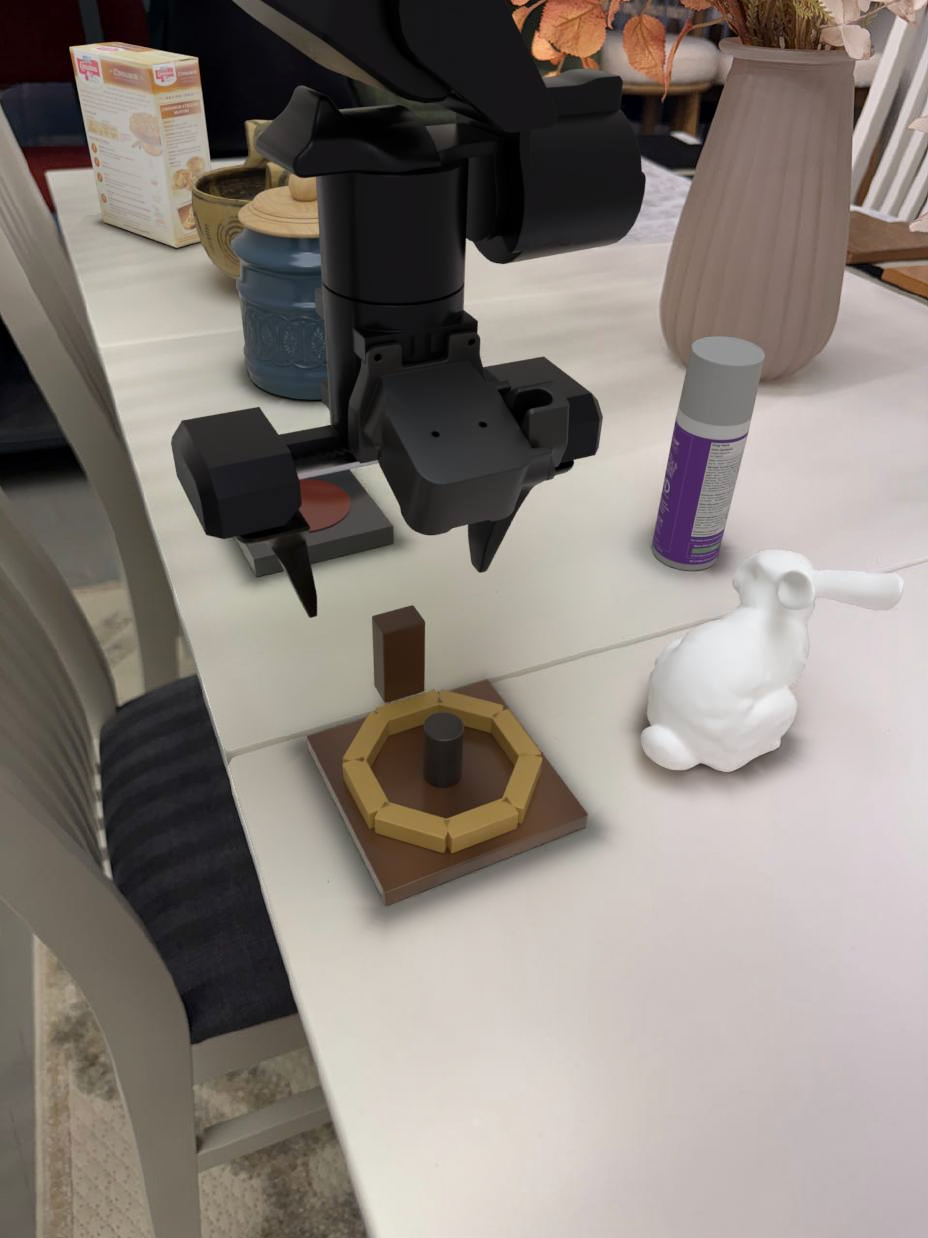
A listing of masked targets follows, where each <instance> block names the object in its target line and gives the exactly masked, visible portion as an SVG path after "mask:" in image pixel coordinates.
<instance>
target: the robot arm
mask: <svg viewBox="0 0 928 1238" xmlns="http://www.w3.org/2000/svg"><path fill="white" fill-rule="evenodd" d="M232 2H234V3H235V4H236V5H237V6H238V7H240V8H241V9H242V10H243V11H244V12H245V13H247V14H248V15H249V16H250V17H252V18H253V19H254V20H256V21H258V22H259V23H260V24H262V25H263V26H265V27H266V28H267V29H269V30H270V31H272V32H273V33H275V34H276V35H277V36H278V37H281V39H283V40H284V41H286V43H289V44H290V45H291V46H293V47H294V48H295V49H297V50H298V51H300V52H301V53H302V54H304V55H305V56H307V57H308V58H310V59H311V60H313V61H314V62H315V63H317V64H318V65H320V66H322V67H324V68H326V69H328V70H329V71H332V72H334V73H337V74H340V75H342V76H345V77H348V78H350V79H353V80H356V81H358V82H361V83H364V84H366V85H369V86H371V87H373V88H376V89H379V90H381V91H383V92H386V93H389V94H391V95H394V96H395V97H396V96H397V97H399V98H401V99H404V100H407V101H411V102H416V103H421V104H432V105H435V106H437V107H440V108H442V109H446V110H448V111H451V112H453V113H455V121H454V122H455V123H446V124H436V125H425V124H424V122H423V120H422V119H421V118H420V117H419V116H418V115H417V114H416V112H415V111H413V110H411V109H410V108H408V107H407V106H404V105H401V104H386V105H385V104H384V105H375V106H374V105H373V106H363V107H352V108H342V109H339V108H338V107H337V106H336V104H335V103H334V102H333V100H332V99H331V98H330V96H328V95H325V94H323V93H321V92H319V91H317V90H314V89H312V88H310V87H307V86H306V85H298V86H297V87H295V89H294V90H293V94H292V96H291V98H290V100H289V102H288V104H287V105H286V107H285V109H284V110H283V111H282V112H281V113H280V114H279V115H278V116H277V117H275V119H272V120H273V121H272V122H271V123H270V125H269V126H268V127H267V128H266V129H265V130H264V131H263V132H262V133H261V134H260V135H259V137H258V138H257V141H256V149H257V151H258V153H259V154H260V155H261V156H263V157H265V158H266V159H268V160H270V161H272V162H273V163H275V164H277V165H278V166H280V167H282V168H284V169H285V170H287V171H289V172H290V173H292V174H294V175H295V176H297V177H299V178H311V177H316V189H317V206H318V223H319V240H320V256H321V273H322V287H321V288H314V289H315V305H316V312H317V313H318V314H319V315H320V317H321V318H322V319H323V320H324V324H325V341H326V358H327V374H328V379H323V380H320V382H321V397H322V399H321V402H322V403H323V404H324V405H325V406H326V408H327V409H328V411H329V422H330V423H329V424H327V425H323V426H317V427H311V428H306V429H301V430H297V431H296V430H295V431H289V432H286V433H278V432H277V430H276V428H275V427H274V426H273V424H272V423H271V421H270V420H269V419H268V417H267V416H266V414H265V413H264V411H263V410H262V409H261V407H260V406H255V407H249V408H244V409H239V410H233V411H228V412H227V411H226V412H221V413H216V414H211V415H206V416H200V417H194V418H188V419H182V420H181V421H180V422H179V425H178V426H177V428H176V430H175V431H174V433H173V434H172V436H171V440H170V444H171V451H172V456H173V457H172V458H173V463H174V468H175V473H176V477H177V479H178V481H179V484H180V485H181V488H182V489H183V492H184V494H185V495H186V497H187V499H188V501H189V504H190V506H191V508H192V509H193V511H194V513H195V516H196V517H197V519H198V521H199V524H200V526H201V527H202V530H203V532H204V534H205V535H206V536H209V537H213V538H217V539H221V540H226V539H231V538H235V536H236V538H237V539H238V540H239V541H240V542H241V543H244V544H247V545H255V544H260V543H266V544H267V545H268V546H269V547H270V548H271V550H272V551H273V552H274V554H275V555H276V556H277V558H278V560H279V562H280V564H281V565H282V567H283V569H284V570H283V571H284V573H285V575H286V577H287V579H288V581H289V582H290V585H291V586H292V587H291V588H292V589H293V590H294V592H295V594H296V597H297V598H298V601H299V602H300V604H301V606H302V608H303V610H304V611H305V613H306V616H307V617H308V618H309V619H313V618H316V617H318V592H317V588H316V581H315V578H314V572H313V567H312V563H311V562H310V557H309V552H308V547H307V542H306V537H307V535H308V533H309V531H310V526H309V524H308V522H307V521H306V519H305V518H304V516H303V515H302V513H301V512H300V510H299V508H300V507H301V506H302V500H301V489H300V481H299V480H301V479H306V478H310V477H315V476H320V475H325V474H330V473H334V472H339V471H344V470H349V469H350V470H354V469H359V468H362V467H368V466H372V465H377V464H378V465H379V468H380V469H381V471H382V474H383V476H384V478H385V480H386V482H387V483H388V485H389V487H390V489H391V492H392V494H393V496H394V497H395V500H396V502H397V504H398V506H399V511H400V514H401V516H402V519H403V520H404V522H405V524H406V525H407V526H408V527H409V528H410V529H411V530H412V531H414V532H415V533H418V534H420V535H422V536H423V535H424V536H431V537H432V536H439V535H443V534H447V533H448V532H450V531H452V530H453V529H456V528H459V527H460V528H461V527H464V526H467V540H468V549H469V557H470V563H471V565H472V566H473V568H474V569H475V570H476V571H477V572H478V573H479V574H482V573H486V572H487V571H488V570H489V568H490V565H491V564H492V562H493V560H494V558H495V556H496V554H497V552H498V550H499V548H500V546H501V544H502V542H503V541H504V538H505V536H506V534H507V533H508V531H509V529H510V527H511V525H512V522H513V521H514V519H515V517H516V515H517V513H518V511H519V510H520V508H521V506H522V505H523V503H524V502H525V500H526V499H527V497H528V496H529V494H530V492H531V491H532V490H533V489H534V487H536V486H538V485H539V484H542V483H543V482H546V481H552V480H553V479H554V478H555V477H556V476H558V475H562V474H563V475H564V474H566V473H568V472H569V471H571V470H572V469H573V467H574V466H575V460H579V459H580V460H581V459H585V458H590V457H594V456H596V454H597V453H598V450H599V448H600V443H601V434H602V429H603V419H604V416H603V412H602V409H601V405H600V403H599V400H598V399H597V398H596V396H595V395H594V394H593V393H592V391H590V390H588V389H587V388H586V387H585V386H583V385H582V384H581V383H579V382H578V381H577V380H576V379H574V378H573V377H572V376H571V375H569V374H567V372H565V371H564V370H562V368H560V367H559V366H558V365H556V364H555V363H553V362H552V361H551V360H550V359H548V358H547V357H546V356H538V357H533V358H527V359H521V360H520V359H519V360H516V361H515V360H514V361H510V362H505V363H497V364H492V365H487V366H484V365H483V362H482V357H481V336H480V335H479V333H478V331H479V321H478V320H477V319H476V318H475V317H474V316H472V315H471V314H470V313H468V312H467V311H466V310H465V285H466V282H465V280H466V258H467V257H466V256H467V255H466V254H467V240H468V241H469V242H472V243H473V244H474V246H475V248H476V249H477V251H478V252H479V254H481V255H482V256H483V257H484V258H485V259H486V260H488V261H489V262H491V263H493V264H497V265H498V264H499V265H507V264H512V263H518V262H523V261H524V262H525V261H529V260H535V259H540V258H546V257H552V256H558V255H563V254H567V253H574V252H579V251H585V250H589V249H590V250H591V249H596V248H603V247H607V246H610V245H614V244H617V243H618V242H619V241H621V240H622V239H624V238H625V237H626V236H627V235H628V234H629V232H630V231H631V229H632V228H633V227H634V226H635V224H636V221H637V219H638V217H639V214H640V213H641V209H642V205H643V201H644V197H645V193H646V185H647V177H646V174H645V172H643V167H642V165H643V164H642V156H641V151H640V146H639V142H638V138H637V135H636V133H635V131H634V128H633V126H632V124H631V122H630V121H629V118H627V116H626V115H625V113H624V111H622V110H621V102H622V96H623V95H622V94H623V87H624V86H623V85H624V80H623V78H622V76H620V75H619V74H615V73H611V72H607V71H603V70H600V69H596V68H592V67H586V68H574V69H569V70H566V71H563V72H561V73H558V74H556V75H552V76H542V74H541V73H540V70H539V68H538V65H537V64H536V62H535V60H534V58H533V56H532V54H531V52H530V50H529V48H528V46H527V44H526V41H525V39H524V37H523V35H522V33H521V31H520V28H519V27H518V25H517V23H516V20H515V19H514V17H513V14H512V12H511V11H510V8H509V6H508V4H507V2H506V0H232Z"/></svg>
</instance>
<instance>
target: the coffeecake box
mask: <svg viewBox="0 0 928 1238" xmlns="http://www.w3.org/2000/svg"><path fill="white" fill-rule="evenodd" d="M69 54H70V58H71V62H72V68H73V72H74V79H75V83H76V88H77V94H78V100H79V103H80V109H81V114H82V120H83V124H84V129H85V134H86V140H87V145H88V150H89V155H90V160H91V166H92V171H93V176H94V181H95V187H96V191H97V196H98V201H99V208H100V211H101V219H102V222H103V223H105V224H108V225H112V226H113V227H117V228H120V229H123V230H126V231H128V232H132V233H134V234H136V235H139V236H142V237H146V238H149V239H151V240H153V241H156V242H159V243H162V244H165V245H167V246H170V247H173V248H176V249H178V248H181V247H184V246H185V247H186V246H188V245H192V244H196V243H201V241H200V238H199V235H198V233H197V229H196V225H195V221H194V216H193V209H192V188H191V182H192V181H193V180H194V179H195V178H196V177H197V176H199V175H200V174H202V173H205V172H208V171H212V170H213V169H212V162H211V155H210V153H211V152H210V146H209V137H208V130H207V129H208V128H207V121H206V113H205V104H204V98H203V97H204V96H203V89H202V81H201V73H200V72H201V71H200V64H199V57H197V56H191V55H186V54H181V53H175V52H170V51H165V50H160V49H155V48H150V47H145V46H140V45H135V44H130V43H125V42H119V41H111V42H110V41H109V42H99V43H98V42H97V43H91V44H83V45H73V46H69Z"/></svg>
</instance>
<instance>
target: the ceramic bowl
mask: <svg viewBox="0 0 928 1238" xmlns="http://www.w3.org/2000/svg"><path fill="white" fill-rule="evenodd" d="M273 120H274V119H250V120H246V121H245V122H244V129H245V130H244V131H245V137H246V138H245V139H246V145H247V151H248V155H247V156H246V159H245V160H244V162H243V163H242V164H236V165H230V166H224V167H219V168H215V169H212V171H208V172H205V173H202V174H200V175H199V176H197V177H196V178H195V179H194V180H193V181H192V182H191V188H192V209H193V216H194V221H195V225H196V229H197V233H198V235H199V238H200V243H201V246H202V248H203V249H204V251H205V253H206V255H207V256H208V258H209V259H210V261H211V262H212V264H213V265H214V266H215V267H217V269H219V271H220V272H222V273H224V274H225V276H227V277H229V278H230V279H232V280H233V281H235V282H236V280H237V278H238V276H239V275H240V260H239V258H238V257H237V256H236V255H235V254H234V252H233V251H232V248H231V242H232V240H233V238H234V237H235V235H236V234H238V233H239V232H240V231H241V230H243V229H244V225H243V224H242V223H241V222H240V221H239V218H238V213H239V211H240V209H241V208H242V207H244V206H245V205H246V204H248V203H250V202H251V201H253V199H254V198H255V196H256V195H258V194H259V193H261V192H263V191H266V190H269V189H273V188H277V187H284V186H289V178H290V176H291V174H292V173H290V172H289V171H287V170H285V169H284V168H282V167H280V166H278V165H277V164H275V163H273V162H272V161H270V160H268V159H266V158H265V157H263V156H261V155H260V154H259V153H258V151H257V149H256V141H257V138H258V137H259V135H260V134H261V133H262V132H263V131H264V130H265V129H266V128H267V127H268V126H269V125H270V123H271V122H272V121H273Z"/></svg>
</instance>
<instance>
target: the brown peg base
mask: <svg viewBox="0 0 928 1238" xmlns="http://www.w3.org/2000/svg"><path fill="white" fill-rule="evenodd" d="M449 691H450V692H454V693H458V694H462V695H465V696H469V697H473V698H477V699H481V700H485V701H489V702H493V703H497V704H500V705H503V710H506V709H509V710H510V711H511V713H512V714H513V715H514V717H515V718H516V719H517V721H518V722H519V723H520V725H521V726H522V727H523V729H524V730H525V732H526V733H527V734H528V736H529V737H530V738H531V740H532V741H533V742H534V744H535V745H536V746H537V748H538V749H539V750H540V752H541V758H542V766H541V773H540V776H539V779H538V782H537V784H536V787H535V790H534V793H533V795H532V798H531V801H530V803H529V806H528V809H527V812H526V814H525V817H524V820H523V823H522V824H519V823H518V824H517V829H515V830H512V831H510V832H507V833H504V834H502V835H499V836H496V837H494V838H491V839H489V840H486V841H483V842H481V843H478V844H476V845H473V846H470V847H468V848H465V849H463V850H460V851H457V852H455V853H451V852H450V850H449V848H448V847H447V848H446V850H445V852H444V853H440V852H437V851H433V850H430V849H427V848H423V847H420V846H417V845H413V844H410V843H407V842H403V841H400V840H397V839H393V838H390V837H387V836H383V835H380V834H377V833H375V827H374V828H371V829H369V828H368V826H367V824H366V822H365V820H364V818H363V816H362V814H361V812H360V810H359V808H358V806H357V804H356V802H355V800H354V799H353V797H352V795H351V793H350V791H349V789H348V787H347V785H346V783H345V781H344V779H343V767H342V764H343V757H344V755H345V753H346V752H347V750H348V748H349V747H350V745H351V743H352V742H353V740H354V738H355V736H356V735H357V733H358V731H359V730H360V728H361V726H362V725H363V723H364V721H365V720H366V718H367V716H365V717H362V718H359V719H356V720H353V721H350V722H347V723H343V724H340V725H337V726H333V727H330V728H328V729H324V730H321V731H317V732H315V733H311V734H308V735H307V736H306V742H307V744H306V745H307V749H308V751H309V753H310V755H311V758H312V759H313V762H314V764H315V766H316V767H317V770H318V772H319V773H320V776H321V778H322V780H323V782H324V784H325V786H326V788H327V790H328V792H329V794H330V796H331V798H332V800H333V802H334V804H335V806H336V809H337V810H338V813H339V814H340V816H341V818H342V820H343V822H344V825H345V827H346V828H347V830H348V832H349V834H350V837H351V838H352V840H353V843H354V844H355V846H356V849H357V850H358V852H359V856H361V859H362V860H363V862H364V865H365V866H366V868H367V871H368V872H369V875H370V877H371V879H372V881H373V883H374V885H375V887H376V889H377V891H378V894H379V895H380V897H381V899H382V901H383V903H384V905H385V906H389V905H391V904H394V903H396V902H399V901H401V900H404V899H407V898H409V897H412V896H414V895H417V894H419V893H422V892H424V891H426V890H428V889H432V888H434V887H437V886H439V885H442V884H445V883H447V882H449V881H452V880H455V879H457V878H460V877H462V876H465V875H468V874H470V873H472V872H476V871H477V870H480V869H482V868H484V867H488V866H491V865H492V864H495V863H498V862H501V861H503V860H505V859H508V858H510V857H513V856H516V855H517V854H521V853H522V852H525V851H528V850H530V849H533V848H535V847H539V846H540V845H543V844H545V843H548V842H550V841H553V840H556V839H558V838H561V837H563V836H565V835H568V834H570V833H574V832H576V831H578V830H581V829H583V828H586V827H587V823H588V818H589V814H588V812H587V811H586V810H585V808H584V806H583V805H582V804H581V803H580V802H579V800H578V798H577V797H576V796H575V795H574V793H573V792H572V790H571V788H569V787H568V785H567V784H566V783H565V781H564V780H563V778H562V777H561V776H560V774H559V773H558V772H557V771H556V769H555V768H554V767H553V765H552V764H551V762H550V761H549V760H548V759H547V756H545V755H544V753H543V752H542V750H541V748H540V747H539V746H538V745H537V744H536V742H535V741H534V740H533V738H532V736H531V735H530V734H529V733H528V731H527V730H526V729H525V727H524V726H523V725H522V723H521V722H520V721H519V719H518V718H517V717H516V715H515V714H514V713H513V711H512V710H511V709H510V707H509V706H508V705H507V703H506V702H505V701H504V700H503V698H502V696H501V695H500V694H499V693H498V691H497V690H496V689H495V687H494V686H493V685H492V683H491V682H490V680H489V679H487V678H486V679H483V680H480V681H477V682H474V683H471V684H467V685H464V686H461V687H458V688H455V689H452V690H449ZM514 767H515V766H514V765H513V764H512V762H511V761H510V759H509V758H508V756H507V755H506V754H505V752H504V751H503V749H502V748H501V747H500V745H499V744H498V742H497V741H496V739H495V738H494V737H493V735H492V734H491V733H488V732H485V731H481V730H477V729H473V728H470V727H466V726H464V724H463V722H462V720H461V719H460V718H459V717H458V716H456V715H454V714H452V713H447V712H440V713H435V714H433V715H431V716H429V717H428V718H427V719H426V721H425V723H424V725H421V726H418V727H415V728H411V729H408V730H405V731H402V732H399V733H396V734H393V735H390V736H388V738H387V739H386V741H385V743H384V745H383V747H382V748H381V750H380V752H379V754H378V755H377V757H376V759H375V761H374V763H373V764H372V766H371V770H372V772H373V774H374V775H375V777H376V779H377V781H378V783H379V784H380V786H381V788H382V790H383V792H384V794H385V795H386V797H387V799H388V801H389V802H391V803H394V804H398V805H401V806H405V807H408V808H412V809H415V810H418V811H422V812H425V813H429V814H432V815H436V816H439V817H443V818H446V819H447V818H450V817H452V816H455V815H458V814H461V813H463V812H466V811H469V810H471V809H474V808H477V807H480V806H482V805H485V804H488V803H490V802H493V801H496V800H499V799H501V798H502V797H503V794H504V792H505V789H506V787H507V784H508V782H509V779H510V777H511V774H512V772H513V769H514Z"/></svg>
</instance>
